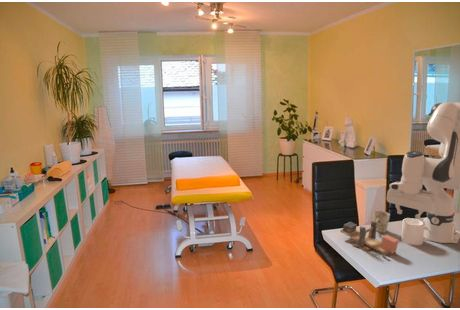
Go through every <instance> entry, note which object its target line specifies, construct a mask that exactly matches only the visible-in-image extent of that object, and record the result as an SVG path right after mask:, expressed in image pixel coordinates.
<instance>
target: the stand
mask: <svg viewBox="0 0 460 310" xmlns="http://www.w3.org/2000/svg"><path fill="white" fill-rule="evenodd" d="M376 226H377V222H375V221H374V220H371V221H370V227H373V228H374V229H372V234H371V238H373V239H376V237H377V231H376ZM365 230H367V227H365V226H361V225H360V227H359V232H360V234H359V241H357V242H355V243H354V244H353V245H352V246H353V247H355V248H357V249H360V250H363V251H365V252H369V251H371V250H373V249H374V248H372V247H370V246H368V245H366V244H365ZM376 240H377V239H376ZM381 256H382V258H386V256H387V255H386V251H383V253H382V255H381Z"/></svg>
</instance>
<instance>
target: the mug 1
mask: <svg viewBox="0 0 460 310" xmlns="http://www.w3.org/2000/svg"><path fill="white" fill-rule="evenodd" d="M390 217H391V213H389V212H387V211H382V210H381V211H380V210H378V211H377V210H376V211H374V212H373V221H375V222H377V226H376V233H377V232H378V233H381V234H382V233H383V234H384V233H386V232H387V230H388V227H389V226H388V225H389V222H390Z"/></svg>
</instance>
